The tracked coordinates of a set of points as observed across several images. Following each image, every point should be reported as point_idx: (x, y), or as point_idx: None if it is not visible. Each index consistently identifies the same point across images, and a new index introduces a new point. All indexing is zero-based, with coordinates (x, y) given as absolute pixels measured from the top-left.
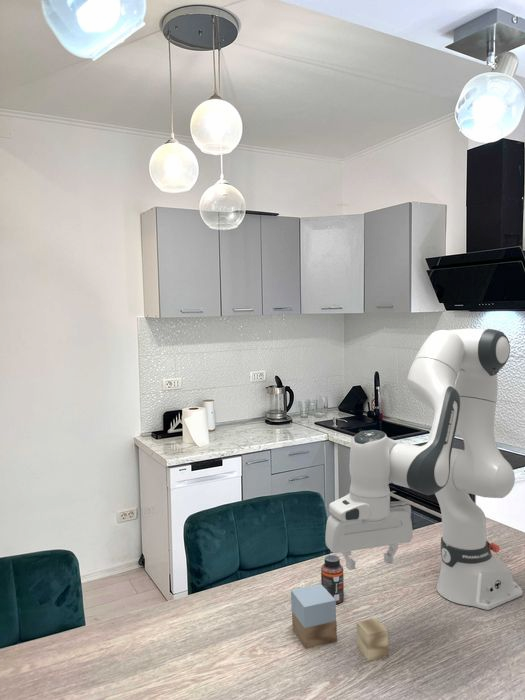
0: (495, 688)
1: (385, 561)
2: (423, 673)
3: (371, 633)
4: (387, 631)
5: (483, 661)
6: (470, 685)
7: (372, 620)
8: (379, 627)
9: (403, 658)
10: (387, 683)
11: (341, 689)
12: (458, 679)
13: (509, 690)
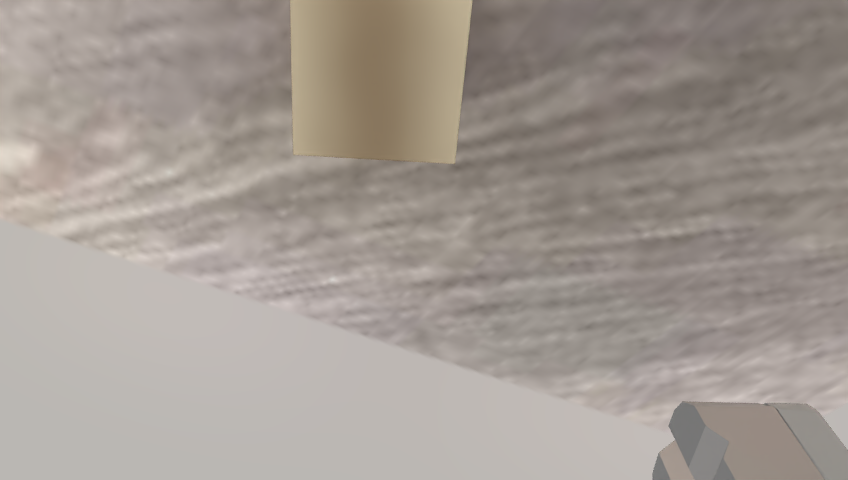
0: None
1: (676, 443)
2: (518, 267)
3: (325, 154)
4: (451, 160)
5: (821, 300)
6: (636, 379)
7: (423, 16)
8: (420, 115)
9: (507, 149)
10: (320, 260)
11: (85, 217)
12: (624, 342)
13: None
